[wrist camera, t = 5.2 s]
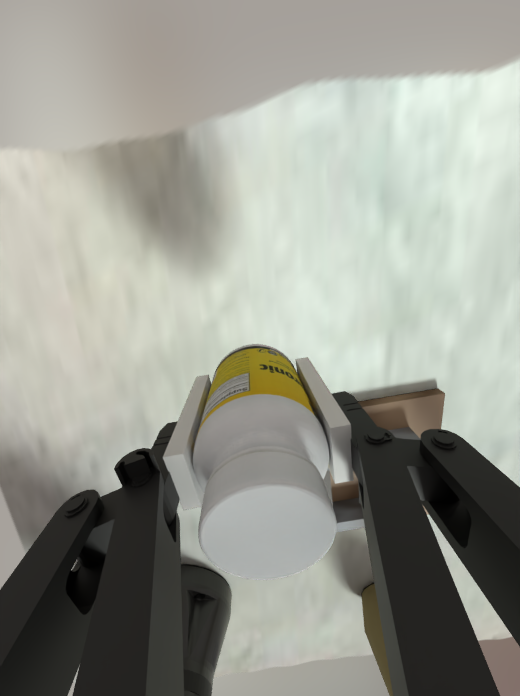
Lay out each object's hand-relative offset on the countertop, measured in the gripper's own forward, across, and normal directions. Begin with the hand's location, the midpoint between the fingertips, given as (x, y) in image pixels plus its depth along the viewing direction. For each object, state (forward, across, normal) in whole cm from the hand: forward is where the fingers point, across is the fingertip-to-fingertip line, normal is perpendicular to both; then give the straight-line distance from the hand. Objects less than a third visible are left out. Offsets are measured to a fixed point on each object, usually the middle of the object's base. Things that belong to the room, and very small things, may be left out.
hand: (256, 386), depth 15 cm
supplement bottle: (+1, 0, 0) cm, 1 cm away
